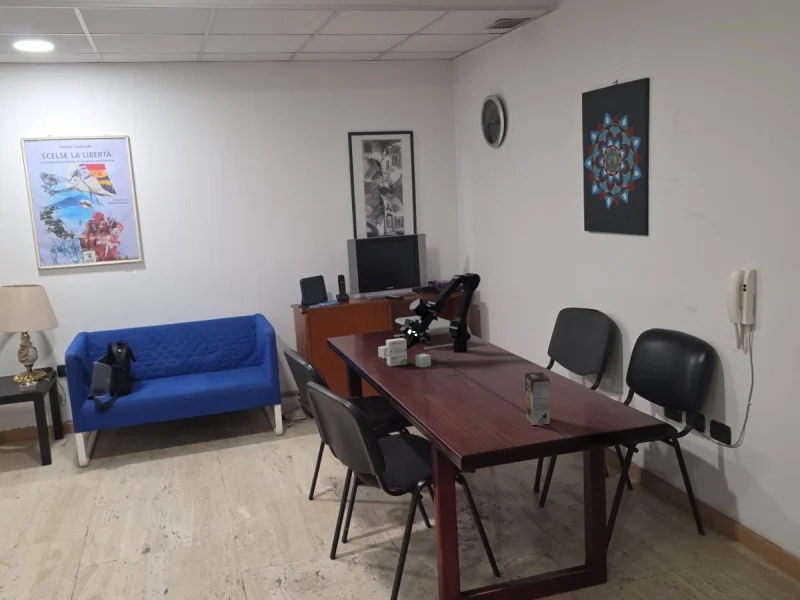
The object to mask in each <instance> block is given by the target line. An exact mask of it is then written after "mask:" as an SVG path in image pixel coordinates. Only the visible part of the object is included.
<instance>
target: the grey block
mask: <svg viewBox="0 0 800 600" xmlns="http://www.w3.org/2000/svg"><path fill="white" fill-rule="evenodd" d="M377 349H378V351H377V354H378V358H381V357H382V358H381V359H384V358H385V359H387V352H386V345H381V346H378V347H377Z"/></svg>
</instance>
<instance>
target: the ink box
mask: <svg viewBox="0 0 800 600" xmlns="http://www.w3.org/2000/svg"><path fill="white" fill-rule="evenodd" d="M406 342H407V339H406V338H404V337H398V338H393V339H392V338H391V339H386V340H385V346H386V352H387V358H386V364H387V366H389V367H397V366H405V365H408V353H407V352H408V351H407V350H408V349H407V344H406ZM396 365H397V366H396Z"/></svg>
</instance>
